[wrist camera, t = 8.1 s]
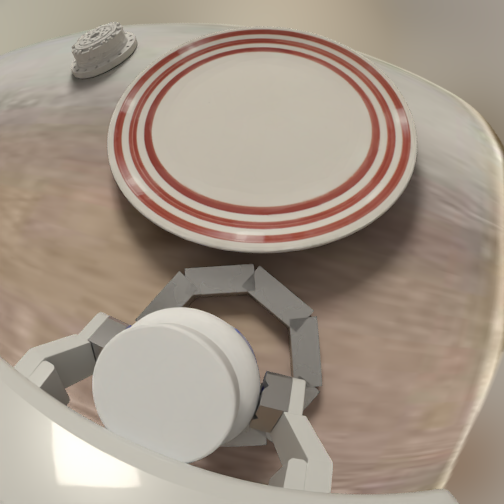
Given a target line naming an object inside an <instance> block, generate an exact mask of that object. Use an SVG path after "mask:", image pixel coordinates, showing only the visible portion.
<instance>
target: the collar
mask: <svg viewBox="0 0 504 504" xmlns="http://www.w3.org/2000/svg"><path fill="white" fill-rule="evenodd" d="M244 294H248V295H250V296H251V297H252V298H253V299H254V300H255V301H257V302H258V303H259V304H260V305H261V306H263V307H264V308H265V309H266V310H267V311H268V312H270V313H271V314H272V315H273V316H274V317H276V318H277V319H278V320H279V321H280V322H282V323H283V324H284V325H285V326H286V327H288V335H289V348H290V361H291V375H292V377H293V378H297V379H302V380H305V382H306V386H305V397H304V406H303V410H304V409H305V408H306V407H307V406H308V405H309V404H310V403H311V402H312V400H313V399H314V398H315V397H316V396H317V395H318V394H319V392H320V391H319V390H317V389H316V388H315V387H317V386H322V375H321V361H320V347H319V335H318V324H317V316H316V317H309V316H310V315H311V314H312V312H313V311H314V310H312V309H311V308H310V307H309V306H308V305H306V304H305V303H304V302H303V301H302V300H300V299H299V298H298V297H297V296H295V295H294V294H293V293H292V292H291V291H289V290H288V289H287V288H286V287H285V286H283V285H282V284H281V283H280V282H279V281H277V280H276V279H275V278H274V277H273V276H271V275H270V274H269V273H268V272H267V271H265V270H264V269H263V268H262V267H261V266H259V267H258V268H257V269H256V270H255V272H254V264H244V265H229V266H215V267H199V268H185V276H184V275H183V274H182V273H181V272H180V271H179V272H178V273H177V274H176V275H175V276H174V277H173V279H172V280H171V281H170V282H169V283H168V284H167V285H166V286H165V287H164V288H163V290H162V291H161V292H160V293H159V294H158V295H157V296H156V297H155V298H154V300H153V301H152V302H151V303H150V304H149V305H148V306H147V307H146V309H145V310H144V311H143V312H142V313H141V314H140V315H139V317H138V318H137V319H136V320H135V321H136V322H137V321H138V320H140V319H141V318H143V317H144V316H146V315H148V314H150V313H153V312H155V311H158V310H162V309H166V308H175V307H186V308H187V307H188V306H189V305H190V304H191V303H192V302H193V301H194V300H195V298H196V297H211V296H228V295H244ZM250 422H251V420H250ZM250 422H249V423H248V425H247V426H246V427H245V429H244V430H243V431H242V432H241V433H240V434H238V435H237V436H236V437H235V438H233V439H232V440H231V441H229V442H228V443H226V444H224V445H222V446H220V447H233V446H258V445H267V443H266V438H267V439H268V440H270V441H271V442H273V441H272V438H271V436H270V433H268V432H264V431H261V430H257V429H253V428H250V427H249V426H250Z"/></svg>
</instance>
